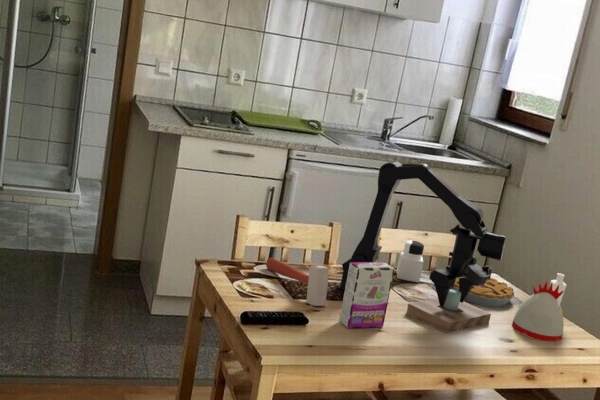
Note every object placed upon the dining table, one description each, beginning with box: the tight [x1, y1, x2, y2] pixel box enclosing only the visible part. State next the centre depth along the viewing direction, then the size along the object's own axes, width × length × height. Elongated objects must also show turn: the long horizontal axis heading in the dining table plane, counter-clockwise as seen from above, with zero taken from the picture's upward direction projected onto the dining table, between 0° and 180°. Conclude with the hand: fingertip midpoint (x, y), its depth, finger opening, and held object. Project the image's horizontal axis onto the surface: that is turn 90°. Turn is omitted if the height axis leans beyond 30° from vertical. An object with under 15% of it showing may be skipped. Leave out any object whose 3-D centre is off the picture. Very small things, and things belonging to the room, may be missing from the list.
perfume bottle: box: [549, 272, 567, 305], centre depth 226 cm, size 5×4×15 cm
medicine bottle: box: [396, 240, 425, 284], centre depth 244 cm, size 7×7×12 cm
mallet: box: [265, 257, 330, 307], centre depth 216 cm, size 11×4×30 cm
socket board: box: [406, 297, 492, 334], centre depth 214 cm, size 20×14×3 cm
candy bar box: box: [338, 261, 395, 330], centre depth 196 cm, size 11×5×16 cm, turn 117°
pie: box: [452, 278, 516, 308], centre depth 240 cm, size 22×22×5 cm
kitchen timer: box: [511, 280, 565, 342], centre depth 215 cm, size 14×14×15 cm
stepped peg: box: [443, 289, 461, 314], centre depth 213 cm, size 4×4×8 cm
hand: (451, 304), depth 213 cm, fingers open, 9 cm apart
